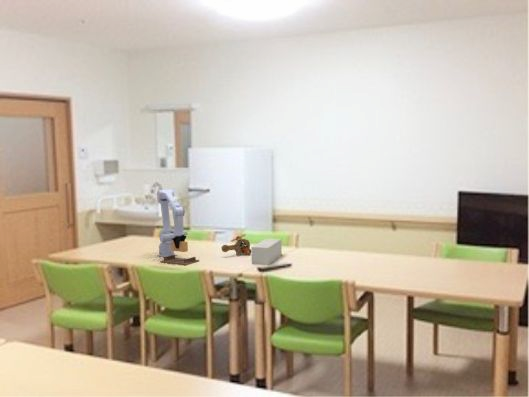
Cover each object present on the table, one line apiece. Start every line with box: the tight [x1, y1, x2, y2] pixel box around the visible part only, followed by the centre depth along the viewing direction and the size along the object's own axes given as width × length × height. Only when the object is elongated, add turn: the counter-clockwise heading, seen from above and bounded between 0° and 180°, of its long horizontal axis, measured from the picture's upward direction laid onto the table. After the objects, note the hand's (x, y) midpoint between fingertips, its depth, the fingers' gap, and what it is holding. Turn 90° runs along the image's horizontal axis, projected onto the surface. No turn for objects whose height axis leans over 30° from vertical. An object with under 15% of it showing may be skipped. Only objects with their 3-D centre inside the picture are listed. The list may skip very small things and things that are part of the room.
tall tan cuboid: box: [171, 240, 189, 253], centre depth 353 cm, size 10×4×6 cm, turn 60°
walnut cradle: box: [159, 254, 200, 267], centre depth 354 cm, size 20×14×3 cm
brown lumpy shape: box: [221, 234, 252, 257], centre depth 370 cm, size 8×21×14 cm, turn 123°
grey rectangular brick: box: [250, 238, 283, 266], centre depth 359 cm, size 32×11×11 cm, turn 164°
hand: (179, 247), depth 353 cm, fingers closed on tall tan cuboid, 3 cm apart
